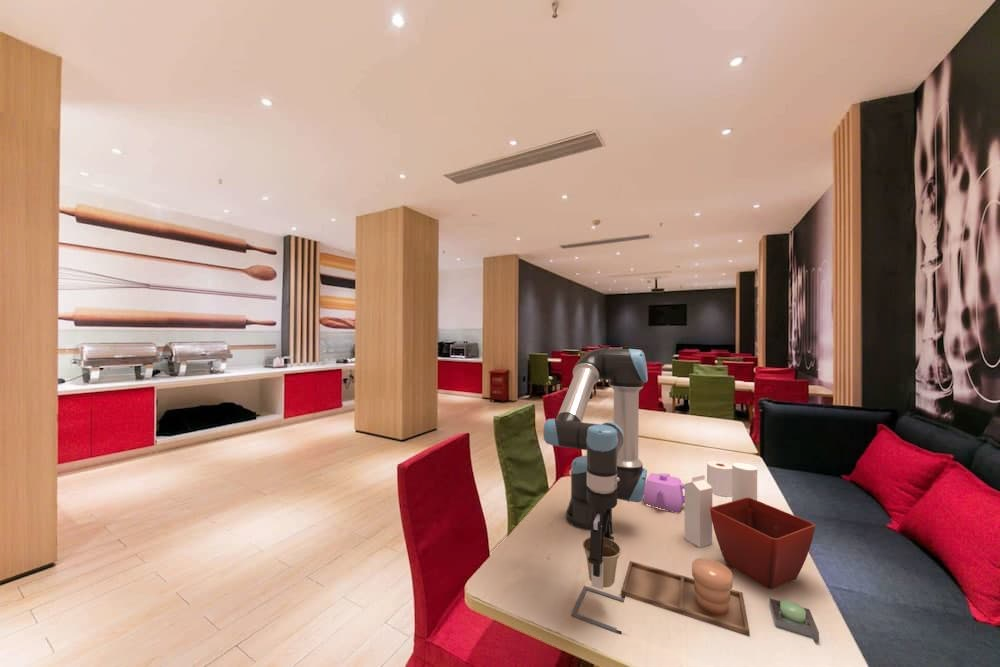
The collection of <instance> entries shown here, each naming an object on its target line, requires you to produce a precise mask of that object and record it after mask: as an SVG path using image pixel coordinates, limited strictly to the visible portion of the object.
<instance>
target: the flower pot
mask: <svg viewBox="0 0 1000 667" xmlns="http://www.w3.org/2000/svg"><path fill="white" fill-rule="evenodd" d="M582 541H583V542H582V547H583V549H584V553H585V556H586V557H585V558H586V563H587V570H588V578H589V581H590V582H591V583H592V563H589V560H588V558H589V555H590V537H587V538H586V539H584V540H582ZM621 553H622V548H621V546H620V544H619V543H618V542H617V541H615V540H614V541H613V540H611V539H609V538H606V537H604V545H603V556H602V561H603V589H605V588H611V587H612V586H613V585H614V583H615V580H616V573H617V564H618V560H619V557H620V555H621Z"/></svg>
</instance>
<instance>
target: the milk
mask: <svg viewBox="0 0 1000 667" xmlns="http://www.w3.org/2000/svg"><path fill="white" fill-rule="evenodd" d="M705 478H706V477H705V475H704V474H703V475H698V476H693V477H691V482H686V483H684V484H685V489H684V496H685V503H684V534H683V535H684V540H686V541H687V542H689V543H691V544H692V545H694V546H696V547H698V548H704V547H706V546H710V545H712V544H713V523H712V518H711V512H710V508H711V507H713V493H712V487H711V486H710V485H709V484H708V483H707V479H705Z"/></svg>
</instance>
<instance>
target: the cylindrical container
mask: <svg viewBox="0 0 1000 667" xmlns="http://www.w3.org/2000/svg"><path fill="white" fill-rule="evenodd" d="M731 465H732V496H731V502H732V501H736V500H739V499H743V498H752V499H754V500H757V501H758V467H756V466H754V465H752V464H750V463H742V462H733V463H732V464H731Z"/></svg>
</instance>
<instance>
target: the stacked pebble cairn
mask: <svg viewBox="0 0 1000 667" xmlns="http://www.w3.org/2000/svg"><path fill="white" fill-rule="evenodd" d="M691 562H692V563H691V575H692V577H693V579H694V589H695V592H696V602H697V604H698V605H699V606H700V607H701V608H702V609H703V610H705V611H707V612H709V613H712V614H715V615H724V614H726V613H727V612H728V602H729V601H730V589H732V588H733V584H734V583H733V580H734V579H733V576H734V575H733V572H732V571H731V570H730V569H731V568H730V567H728V566H727V565H725V564H723V563H721V562H719V561H716V560H713V559H709V558H696V559H694V560H693V561H691ZM729 568H730V569H729Z"/></svg>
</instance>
